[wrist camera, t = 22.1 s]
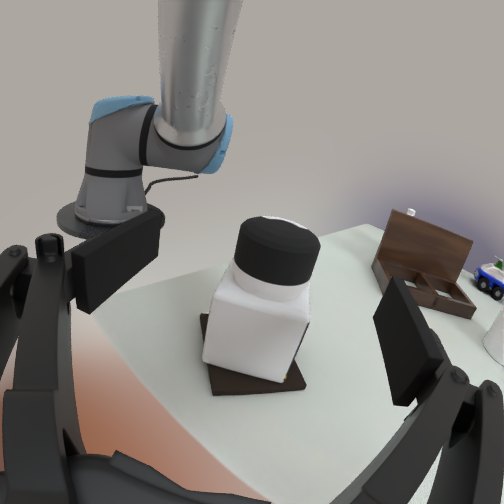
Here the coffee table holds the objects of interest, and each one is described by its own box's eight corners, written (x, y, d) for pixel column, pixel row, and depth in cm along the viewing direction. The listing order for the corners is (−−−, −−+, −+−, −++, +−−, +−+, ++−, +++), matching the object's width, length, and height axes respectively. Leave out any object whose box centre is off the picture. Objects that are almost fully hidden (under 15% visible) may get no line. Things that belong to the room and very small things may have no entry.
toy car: (471, 277, 64) (484, 247, 60) (502, 295, 57) (515, 265, 53) (470, 285, 58) (485, 252, 54) (504, 305, 50) (520, 272, 47)
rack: (470, 319, 41) (499, 261, 36) (383, 295, 42) (411, 226, 38) (449, 290, 51) (471, 239, 46) (371, 266, 53) (392, 208, 48)
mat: (200, 317, 29) (200, 313, 29) (272, 319, 31) (273, 315, 31) (212, 395, 20) (213, 391, 20) (304, 389, 23) (306, 385, 23)
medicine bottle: (283, 385, 22) (335, 256, 17) (200, 362, 23) (223, 226, 18) (289, 334, 29) (326, 224, 24) (221, 316, 29) (245, 202, 24)
